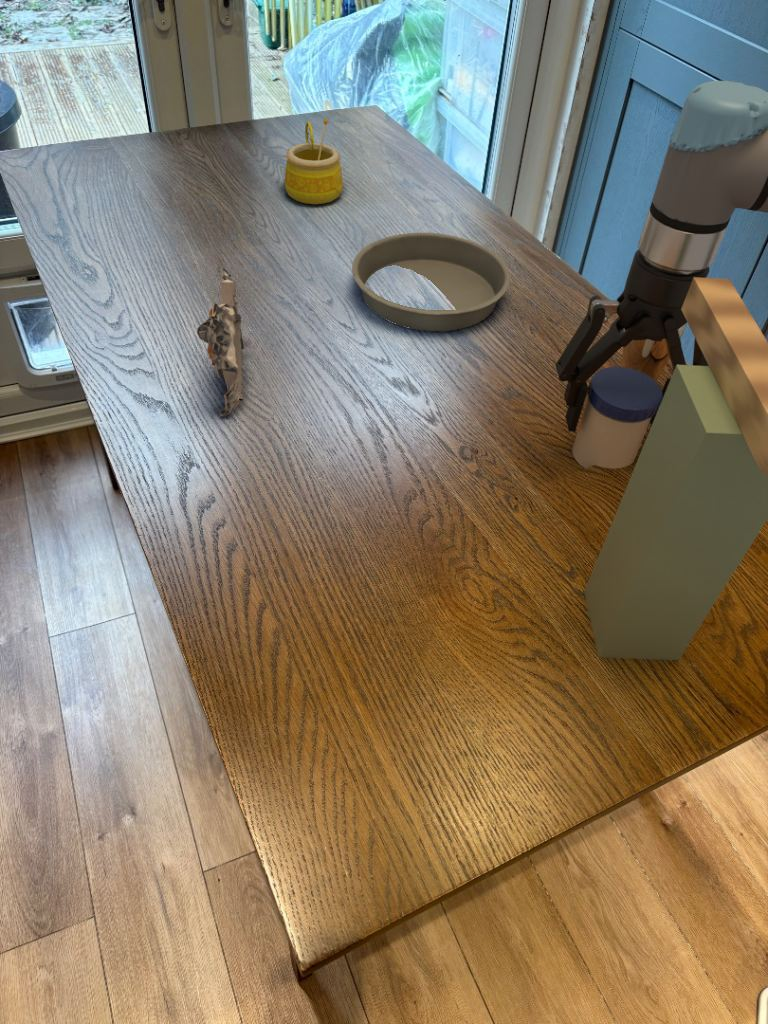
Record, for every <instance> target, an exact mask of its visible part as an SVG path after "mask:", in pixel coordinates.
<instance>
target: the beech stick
mask: <svg viewBox="0 0 768 1024" xmlns="http://www.w3.org/2000/svg"><path fill="white" fill-rule="evenodd" d="M681 310H682V312H683V314H684V316H685V318H686V320H687V325H688V327H689V329H690V331H691V332H692V334H693V336H694V340H695V339H696V341H697V343H698V345H699V347H700V349H701V351H702V353H703V355H704V357H705V359H706V361H707V363H708V365H709V367H710V369H711V371H712V373H713V375H714V377H715V379H716V381H717V383H718V386H719V388H720V390H721V392H722V394H723V396H724V398H725V400H726V402H727V404H728V406H729V408H730V410H731V412H732V414H733V416H734V418H735V420H736V422H737V424H738V426H739V428H740V430H741V432H742V434H743V437H744V439H745V441H746V443H747V445H748V447H749V449H750V451H751V453H752V455H753V457H754V459H755V461H756V463H757V465H758V467H759V469H760V471H761V473H762V474H768V340H767V339H766V337H765V335H764V334H763V332H762V330H761V328H760V327H759V326H758V324H757V322H756V321H755V319H754V317H753V315H752V314H751V312H750V310H749V309H748V307H747V306H746V304H745V302H744V301H743V299H742V298H741V296H740V294H739V292H738V290H737V289H736V287H735V286H734V283H733V282H732V280H731V279H730V278H719V277H718V278H717V277H715V278H714V277H707V278H700V277H694V278H693V280H692V283H691V285H690V288H689V290H688V293H687V296H686V298H685V301H684V303H683V306H682V309H681Z"/></svg>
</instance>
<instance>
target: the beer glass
mask: <svg viewBox="0 0 768 1024" xmlns="http://www.w3.org/2000/svg"><path fill="white" fill-rule="evenodd" d="M687 325H688V322H687V323H686V324H685V325H683V326H682V327H681V328H679V329H678V333H679V337H680V341H681V340H682V338H683V336H684V333H685V330H686V327H687ZM669 361H671V359H670V356H669V352H668V348H667V345H666V341H665V339H662V341H653V340H649V339H646V340H632V341H631V342H630V343H629V344H628V345H627V346H626V347H622V354H621V360H620V365H619V367H626V368H631V369H635V370H638V371H640V372H642V373H645V374H646V375H648V376H650V377H651V378H653V379H654V380H655V381H656V382H657V383H658V380H659V379H660V376H661V375H662V372H663V371H664V370H665V367H667V364H669Z"/></svg>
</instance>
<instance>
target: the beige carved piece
mask: <svg viewBox="0 0 768 1024" xmlns="http://www.w3.org/2000/svg"><path fill="white" fill-rule="evenodd" d="M216 267H217V268H216V269H217V272H218V274H219V276H220V277H221V278H222V279H223V280H222V281H220V304H217V303H216V302H214V303H213V305H212V307H211V308H210V310H209V314H208V318H207V319H206V320H205V321H204V322H202V323H201V324H200V325H199V326H198V327H197V329H196V330H197V331H196V334H197V335H198V338H199V340H201V341H203V342H204V343H206V344H208V345H207V348H206V351H207V354H208V357H209V359H210V360H211V366H213V367H214V366H215V370H216V373H217V377H218V379H222V377H223V379H224V381H225V385H226V390H227V391H226V393H225V394H223V398H224V406H225V407H224V408H223V409H221V411H220V413H219V418H221V419H223V418H225V417H226V416H228V415H231V413H232V411H234V410H235V409H236V408H237V407H238V406H239V405H240V404H241V400H239V399H243V400H244V396H243V397H242V394H241V392H242V393H243V385H242V383H243V372H242V366H243V363H242V354H243V353H242V351H243V350H244V339H243V332H242V326H241V325H242V322H243V321H242V316H241V315H240V314H239V313H238V309H239V307H238V304H239V301H238V299H237V298H236V297H237V294H236V293H237V289H236V287H237V284H236V283H237V282H235V281H234V279H233V278H232V274H231V273H230V272H228V271H227V270H226V269H225V268H224V267H219V266H216ZM227 273H228V274H227ZM238 400H239V401H238ZM228 413H229V414H228Z"/></svg>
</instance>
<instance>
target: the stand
mask: <svg viewBox="0 0 768 1024" xmlns="http://www.w3.org/2000/svg"><path fill="white" fill-rule="evenodd" d="M670 378H671V380H670V382H669V385H668V387H667V390H666V392H665V395H664V397H663V399H662V402H661V404H660V407H659V409H658V412H657V414H656V417H655V419H654V422H653V424H651V426H650V429H649V431H648V434H647V436H646V439H645V441H644V444H643V446H642V449H641V450H640V453H639V456H638V458H637V460H636V463H635V466H634V468H633V470H632V473H631V475H630V478H629V480H628V483H627V485H626V488H625V490H624V493H623V495H622V498H621V500H620V502H619V505H618V507H617V509H616V512H615V515H614V517H613V520H612V523H611V525H610V527H609V530H608V532H607V534H606V537H605V539H604V542H603V545H602V547H601V549H600V551H599V554H598V555H597V556H598V557H597V559H596V561H595V563H594V566H593V569H592V571H591V574H590V576H589V578H588V580H587V583H586V585H585V588H584V591H583V595H584V599H585V603H586V608H587V613H588V617H589V623H590V627H591V631H592V635H593V640H594V644H595V649H596V653H597V657H598V658H606V659H608V658H609V659H636V660H641V659H642V660H662V661H663V660H664V661H679V660H680V659H681V658H682V656H683V654H684V653H685V651H686V649H687V648H688V646H689V645H690V643H691V642H692V640H693V638H694V636H696V634H697V632H698V631H699V629H700V627H701V626H702V624H703V622H704V621H705V619H706V618H707V616H708V614H709V613H710V611H711V610H712V609H713V607H714V605H715V603H716V602H717V600H718V599H719V597H720V595H721V594H722V593H723V591H724V590H725V587H726V586H727V585H728V583H729V581H730V579H731V578H732V577H733V575H734V573H735V571H736V570H737V568H738V567H739V565H740V564H741V562H742V561H743V559H744V557H745V555H746V554H747V552H748V551H749V550H750V548H751V546H752V545H753V543H754V541H755V540H756V538H757V537H758V535H759V534H760V532H761V530H762V529H763V527H764V525H765V524H766V522H767V521H768V474H762V473H761V471H760V469H759V467H758V465H757V463H756V461H755V459H754V457H753V455H752V453H751V451H750V449H749V447H748V445H747V443H746V441H745V439H744V437H743V434H742V432H741V430H740V428H739V426H738V424H737V422H736V420H735V418H734V416H733V414H732V412H731V410H730V408H729V406H728V404H727V402H726V400H725V398H724V396H723V394H722V392H721V390H720V388H719V386H718V383H717V381H716V379H715V377H714V375H713V373H712V371H711V369H710V367H709V366H694V365H693V364H691V365H690V364H686V365H676V368H675V370H673V373H672V375H671V377H670Z"/></svg>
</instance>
